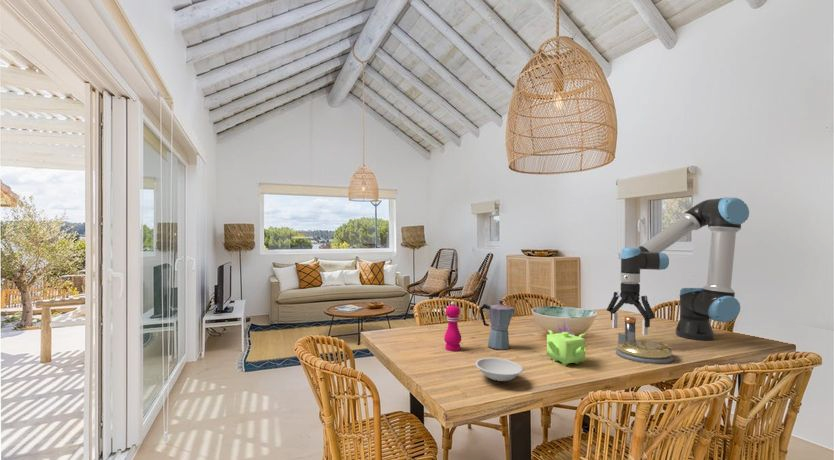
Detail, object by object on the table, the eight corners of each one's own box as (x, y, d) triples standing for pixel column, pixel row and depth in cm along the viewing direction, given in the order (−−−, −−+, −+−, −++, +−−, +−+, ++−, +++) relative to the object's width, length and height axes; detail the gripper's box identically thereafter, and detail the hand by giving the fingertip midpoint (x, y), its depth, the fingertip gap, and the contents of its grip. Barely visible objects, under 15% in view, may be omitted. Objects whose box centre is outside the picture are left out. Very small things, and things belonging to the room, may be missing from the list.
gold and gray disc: (633, 342, 177) (633, 328, 177) (681, 353, 161) (681, 338, 161) (607, 349, 166) (607, 334, 166) (655, 362, 150) (655, 345, 150)
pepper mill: (442, 350, 170) (442, 302, 170) (446, 345, 177) (446, 299, 177) (459, 352, 168) (459, 303, 168) (463, 347, 175) (463, 300, 175)
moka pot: (516, 351, 169) (516, 303, 169) (478, 349, 172) (479, 301, 172) (515, 345, 179) (515, 299, 179) (480, 343, 182) (480, 298, 182)
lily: (553, 351, 173) (564, 333, 170) (542, 334, 183) (552, 317, 180) (576, 358, 176) (588, 341, 172) (564, 340, 186) (575, 324, 183)
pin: (628, 342, 183) (628, 315, 183) (637, 345, 179) (637, 317, 179) (622, 344, 180) (622, 317, 180) (632, 346, 177) (632, 318, 177)
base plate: (633, 346, 177) (633, 342, 177) (683, 358, 160) (683, 354, 160) (605, 353, 167) (605, 349, 167) (656, 367, 150) (656, 363, 150)
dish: (466, 375, 142) (466, 360, 142) (500, 369, 148) (500, 355, 148) (495, 393, 126) (495, 377, 126) (533, 386, 131) (533, 370, 131)
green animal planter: (547, 354, 166) (547, 326, 166) (585, 358, 161) (585, 329, 161) (544, 365, 152) (544, 335, 152) (585, 370, 147) (585, 339, 147)
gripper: (599, 280, 188) (598, 326, 188) (654, 286, 167) (653, 338, 167) (608, 279, 192) (608, 324, 192) (664, 285, 171) (663, 336, 171)
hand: (629, 331), depth 180 cm, fingers open, 13 cm apart
